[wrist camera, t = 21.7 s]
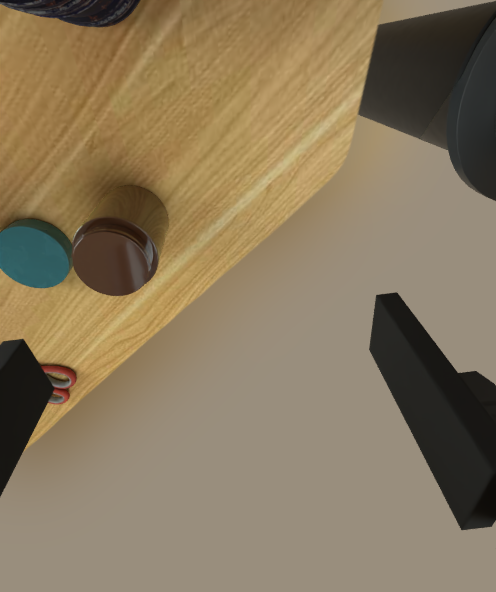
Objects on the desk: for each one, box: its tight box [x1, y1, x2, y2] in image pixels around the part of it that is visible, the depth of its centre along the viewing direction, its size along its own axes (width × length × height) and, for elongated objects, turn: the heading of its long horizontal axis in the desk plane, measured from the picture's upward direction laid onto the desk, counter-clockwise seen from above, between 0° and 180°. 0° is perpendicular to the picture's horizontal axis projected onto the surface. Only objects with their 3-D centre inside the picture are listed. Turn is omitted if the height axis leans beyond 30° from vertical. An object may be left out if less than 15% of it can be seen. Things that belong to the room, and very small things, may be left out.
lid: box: [0, 219, 73, 288], centre depth 39 cm, size 8×8×2 cm
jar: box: [71, 185, 169, 296], centre depth 35 cm, size 8×8×11 cm
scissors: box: [41, 366, 76, 404], centre depth 49 cm, size 8×21×2 cm, turn 48°
